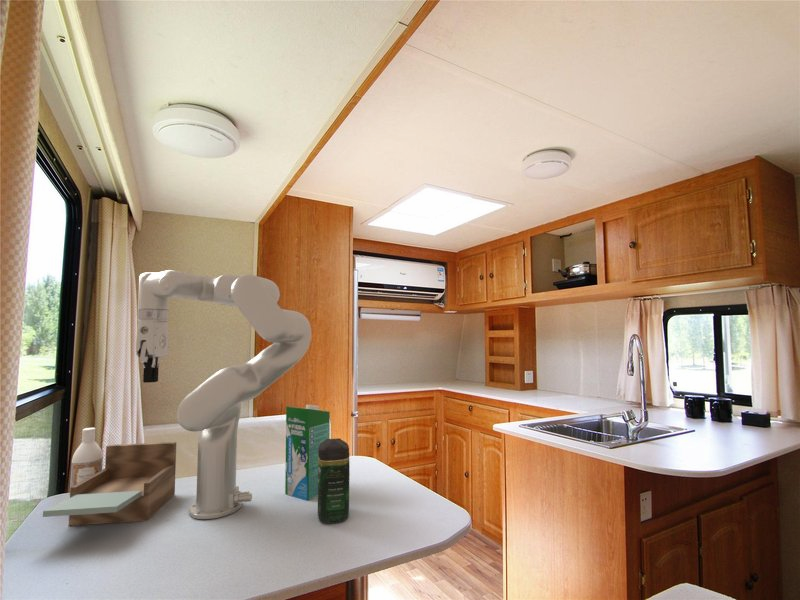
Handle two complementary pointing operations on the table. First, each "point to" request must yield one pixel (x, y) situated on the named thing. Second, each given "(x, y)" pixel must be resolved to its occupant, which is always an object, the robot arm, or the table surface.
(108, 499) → the panel
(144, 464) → the tray
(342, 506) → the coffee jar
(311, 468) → the milk carton
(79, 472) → the bath foam
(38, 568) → the table surface
